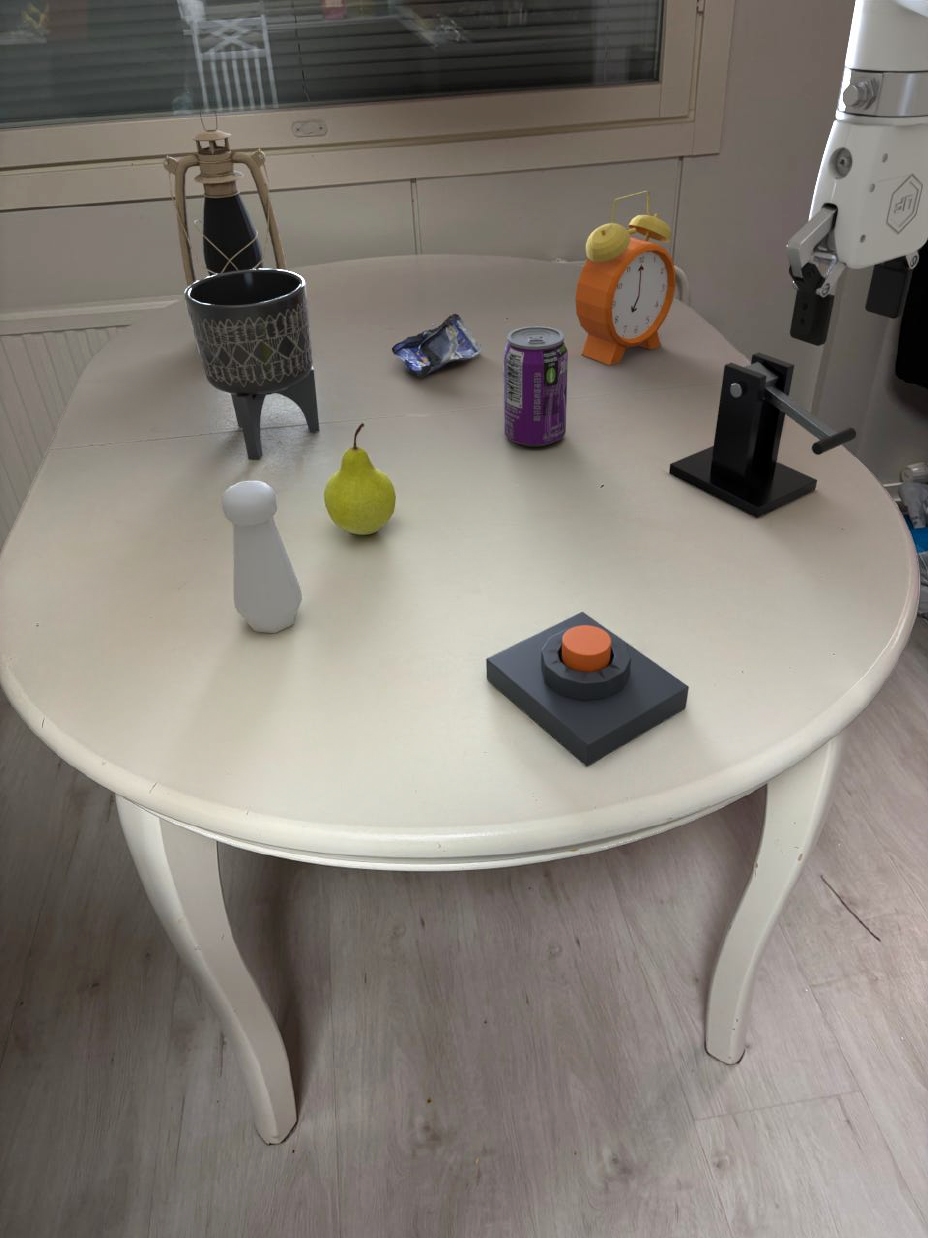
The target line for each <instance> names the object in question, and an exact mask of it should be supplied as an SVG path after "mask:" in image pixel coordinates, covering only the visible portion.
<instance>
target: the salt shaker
mask: <svg viewBox="0 0 928 1238" xmlns="http://www.w3.org/2000/svg"><path fill="white" fill-rule="evenodd" d="M277 505H278V502H277V497H276V493H275V491H274V489H273V487H271V485H269V484H267V483H265V482H264V481H260V480H245V481H240V482H236V483H234V484H233V485H231V486H229V487H228V488H227V489H226V490H225V492H224V493H223V494H222V495H221V506H222V512H223V515H224V517H225V519H226V520H227V521H228V522H230V523H231V524H232V532H233V533H232V547H233V548H232V555H233V557H232V558H233V559H232V560H233V561H232V562H233V565H232V566H233V568H232V569H233V603H234V608H235V610H236V612H237V613H238V614H239V615H240V616H241V618H243V619H244V620H245V621H246V622H247V624H249V626H250V627H251V628H252V629H253V631H254V632H257V633H267V634H269V633H270V634H277V633H279V632H281V631H283V630H285V629H288V628H289V627H291V626H293V625H294V623H295V619H296V615H297V613H298V611H299V609H300V607H301V605H302V601H303V593H302V588H301V584H300V582H299V579H298V577H297V575H296V572H295V569H294V567H293V565H292V562H291V559H290V558H289V557H290V556H289V554H288V552H287V549H286V546H285V544H284V542H283V539H282V537H281V533H280V531H279V529H278V526H277V523H276V521H275V518H274V516H275V514H276V513H277V510H278V506H277Z"/></svg>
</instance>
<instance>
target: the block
mask: <svg viewBox="0 0 928 1238" xmlns="http://www.w3.org/2000/svg"><path fill="white" fill-rule="evenodd" d="M582 625H589V626H595V627H598V628H601V629H603V630H604V631H605V632H607V633H608V635H609V636H610V638H611V652H610V661H609V663H608V665H607V666H606V667H605V668H604V669H602V670H600V671H596V672H586V673H584V672H580V671H576V670H572V669H570V668H568V667H567V666H566V665H565V664H564V662H563V660H562V639H563V636H564V634H565V633H566V632H567V631H568V630H569V629H571V628H573V627H576V626H582ZM485 667H486V669H485V670H486V681H488V682H489V683H490V684H491V685H493V686H494V688H496V689H497V690H498V691H499V692H500V693H502V694H503V695H504V696H505V697H506V698H507V699H509V700H510V701H511V702H512V703H513V704H514V705H516V706H517V707H518V708H519V709H520V710H521V711H523V713H525V714H526V715H527V716H528V717H529V718H531V719H532V720H533V721H534V722H535V723H536V724H537V725H538V726H540V727H541V728H542V729H543V730H544V731H545V732H547V734H549V735H550V737H552V738H553V739H554V740H556V741H557V742H558V743H559V744H560V745H562V746H563V747H564V748H565V749H566V750H567V751H568V752H570V753H571V754H572V755H573V756H574V757H575V758H576V759H578V760H579V761H580V762H581V763H582V764H583V765H585V766H586V767H589V766H590V765H592V764H593V763H596V762H597V761H599V760H601V759H602V758H604V757H605V756H608V755H609V754H611V753H612V752H614V751H615V750H617V749H619V748H621V747H623V746H624V745H626V744H628V743H629V742H631V741H633V740H634V739H636V738H638V737H639V736H641V735H643V734H645V733H646V732H648V731H649V730H651V729H653V728H654V727H656V726H657V725H659V724H662V723H663V722H665V721H666V720H668V719H670V718H672V717H673V716H675V715H677V714H679V713H680V712H681V711H683V710H685V709H687V702H688V697H689V689H690V686H689V685H687V684H686V683H685V682H683V681H681V680H680V679H679V678H678V677H676V676H675V675H674V674H672V673H671V672H669V671H668V670H666V669H665V668H664V667H662V666H660V665H659V664H658V663H656V662H655V661H653V660H652V659H650V658H649V657H648V656H646V655H645V654H643V653H642V652H641V651H639V650H637V649H636V648H635V647H633V646H632V645H631V644H629V643H628V642H627V641H625V640H623V638H621V637H619V636H618V635H617V634H615V633H614V632H613V631H611V630H610V629H608V628H607V627H606V626H604V625H602V624H601V623H600V622H598V621H597V620H596V619H594V618H592V617H591V616H590V615H588V614H587V613H585V612H584V611H580V612H578V613H576V614H574V615H572V616H570V617H568V618H566V619H564V620H562V621H560V622H557V623H556V624H554V625H552V626H549V627H548V628H546V629H544V630H542V631H539V632H538V633H536V634H533V635H531V636H530V637H528V638H526V639H523V640H521V641H519V642H518V643H515V644H513V645H511V646H509V647H506V648H505V649H503V650H501V651H499V652H497V653H495V654H492V655H490V656H489V657H486V659H485Z"/></svg>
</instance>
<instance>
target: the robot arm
mask: <svg viewBox="0 0 928 1238" xmlns="http://www.w3.org/2000/svg"><path fill="white" fill-rule="evenodd" d="M835 118H836V119H835V120H833V124H832V127H831V130H830V132H829V133H830V134H829V136H828V140H827V143H826V145H825V149H824V153H823V155H822V159H821V164H820V168H819V171H818V174H817V180H816V183H815V187H814V192H813V196H812V200H811V206H810V211H809V217H808V221H807V222H806V223H805V224H804V225H803V226H802V227H801V228H800V229H799V230H798V231H797V232H796V233H795V234H794V235H793V236H791V237H790V239H788V241H787V243H786V246H785V247H786V254H787V259H788V265H789V267H788V274H789V276H790V277H791V279H792V289H794V290H795V291H796V292H795V293H796V294H795V299H794V304H793V305H794V306H793V312H792V317H791V323H790V329H789V335H790V337H791V338H792V339H795V340H798V341H801V342H804V343H807V344H810V345H813V346H817V347H820V346H822V345H825V344H826V342H827V339H828V334H829V330H830V322H831V319H832V314H833V308H834V302H835V297H836V295H834V294H831V291H832V289H833V288H834V286H835V284H836V283H837V282H838V280H839V279H840V277H841V275H842V273H843V272H844V270H845V269H846V267H848V268H850V269H853V270H861V269H865V268H868V267H869V268H870V267H872V266H873V269H872V273H871V279H870V283H869V288H868V292H867V297H866V301H865V305H864V308H865V310H866V311H867V312H868V313H872V314H875V315H878V316H882V317H886V318H888V319H893V320H894V319H898V318H900V317H901V316H902V314H903V309H904V305H905V301H906V297H907V292H908V289H909V285H910V281H911V277H912V272H913V270H912V269H914V268H915V267H916V266H917V265H918V263H919V259H920V255H919V253H920V251H921V250H922V248H923V247H924V245H925V244H926V243H927V241H928V0H855V5H854V9H853V15H852V20H851V26H850V33H849V39H848V44H847V50H846V56H845V61H844V67H843V71H842V78H841V84H840V88H839V94H838V100H837V106H836V111H835ZM821 264H822V265H826V266H828V267H827V269H826V270H825V271H824V274H823V275H822V273H821V271H820V270H819V266H820V265H821Z"/></svg>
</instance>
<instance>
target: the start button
mask: <svg viewBox="0 0 928 1238" xmlns="http://www.w3.org/2000/svg"><path fill="white" fill-rule="evenodd" d="M610 652H611V638H610V636H609V635H608V633H607V632H605V631H604V630H603V629H601V628H598V627H595V626H589V625H582V626H576V627H573V628H571V629H569V630H568V631H567V632H566V633H565V634H564V636H563V639H562V660H563V662H564V664H565V665H566V666H567V667H568V668H570V669H572V670H576V671H580V672H584V673H586V672H596V671H600V670H602V669H604V668H605V667H606V666H607V665H608V663H609V661H610Z"/></svg>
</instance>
